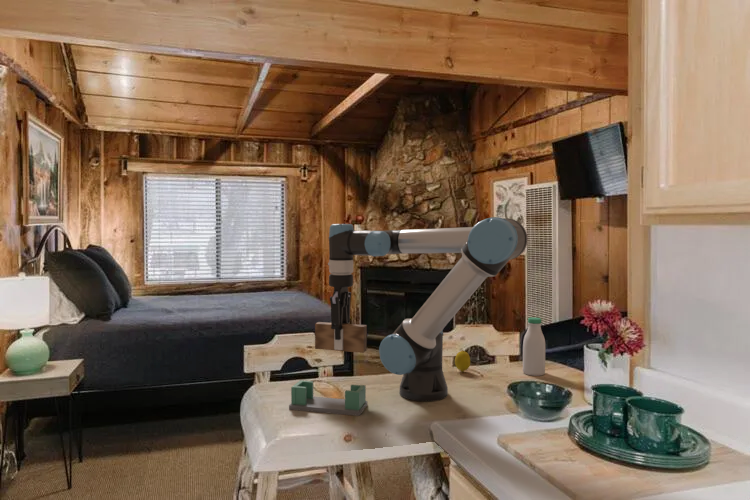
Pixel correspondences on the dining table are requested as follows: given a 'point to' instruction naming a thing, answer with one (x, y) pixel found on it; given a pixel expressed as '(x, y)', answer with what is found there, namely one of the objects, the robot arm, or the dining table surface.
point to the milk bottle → (534, 349)
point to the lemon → (462, 360)
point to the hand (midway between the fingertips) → (340, 348)
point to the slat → (351, 337)
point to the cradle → (328, 400)
